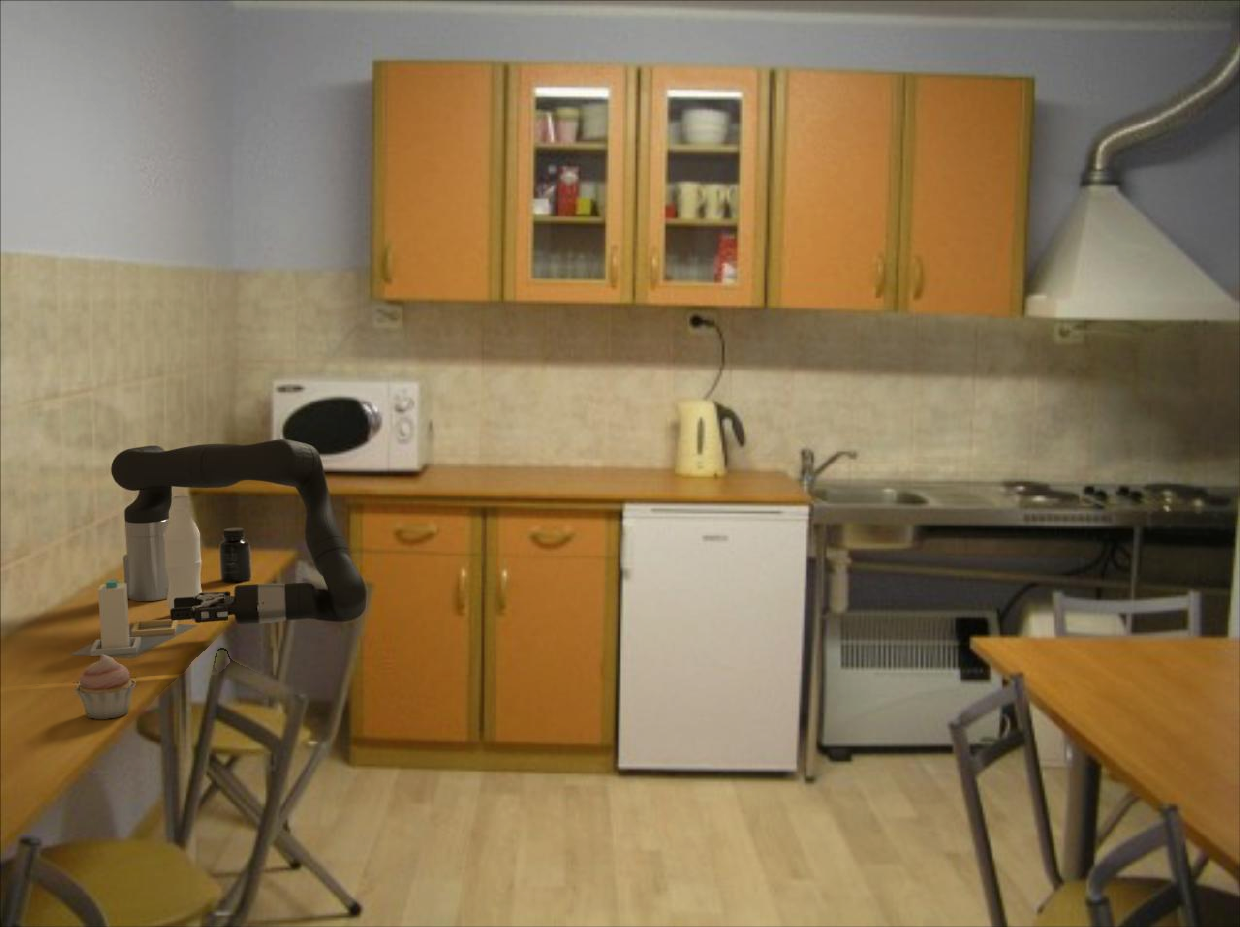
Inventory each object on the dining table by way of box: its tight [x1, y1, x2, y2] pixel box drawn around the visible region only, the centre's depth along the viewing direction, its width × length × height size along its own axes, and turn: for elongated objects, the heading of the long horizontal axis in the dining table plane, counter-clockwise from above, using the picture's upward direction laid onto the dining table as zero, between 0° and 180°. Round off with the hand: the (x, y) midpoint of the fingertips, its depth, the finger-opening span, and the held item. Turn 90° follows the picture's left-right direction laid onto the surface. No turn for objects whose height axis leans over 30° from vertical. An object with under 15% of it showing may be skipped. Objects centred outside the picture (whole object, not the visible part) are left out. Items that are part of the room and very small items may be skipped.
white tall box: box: [97, 578, 130, 649], centre depth 260 cm, size 4×4×13 cm
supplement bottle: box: [218, 527, 252, 583], centre depth 320 cm, size 7×7×12 cm
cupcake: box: [74, 654, 137, 720], centre depth 223 cm, size 9×9×10 cm
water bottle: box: [164, 495, 203, 611], centre depth 286 cm, size 7×7×25 cm
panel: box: [69, 618, 198, 659], centre depth 267 cm, size 13×25×2 cm, turn 169°
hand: (172, 609), depth 262 cm, fingers open, 8 cm apart
